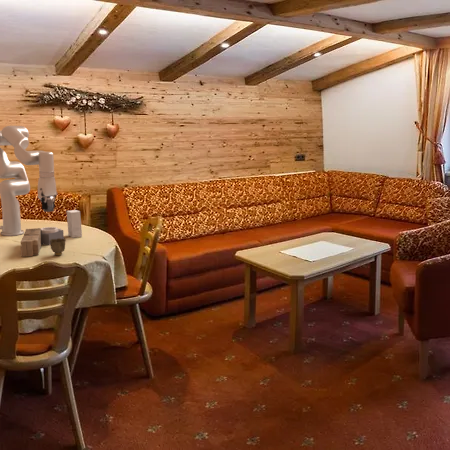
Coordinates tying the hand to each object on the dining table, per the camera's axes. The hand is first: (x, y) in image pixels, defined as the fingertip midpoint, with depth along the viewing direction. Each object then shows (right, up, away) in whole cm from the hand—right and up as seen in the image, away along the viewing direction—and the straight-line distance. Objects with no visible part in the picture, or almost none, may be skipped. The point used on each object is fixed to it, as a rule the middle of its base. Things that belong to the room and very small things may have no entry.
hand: (48, 208), depth 273 cm
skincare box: (+8, -16, +19) cm, 26 cm away
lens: (0, -1, 0) cm, 1 cm away
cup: (+13, -24, -23) cm, 36 cm away
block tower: (-4, -22, -13) cm, 26 cm away
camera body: (0, -18, +4) cm, 19 cm away
